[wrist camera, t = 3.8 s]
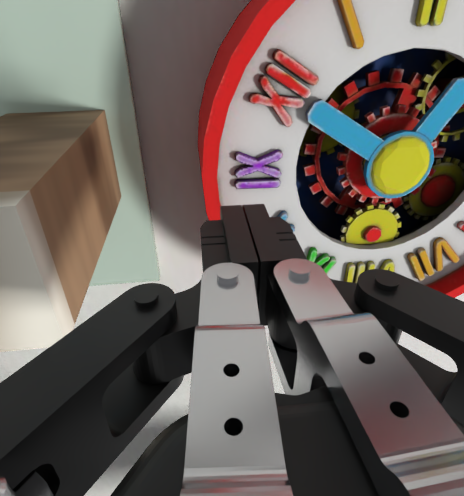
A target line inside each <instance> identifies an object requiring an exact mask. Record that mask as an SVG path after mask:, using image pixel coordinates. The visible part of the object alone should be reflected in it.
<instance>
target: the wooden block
mask: <svg viewBox="0 0 464 496" xmlns="http://www.w3.org/2000/svg"><path fill="white" fill-rule="evenodd" d="M120 199H121V192H120V186H119V181H118V176H117V171H116V166H115V160H114V155H113V150H112V145H111V140H110V135H109V129H108V124H107V119H106V114H105V110H87V111H61V112H35V113H9V114H5V115H3V116H1V117H0V352H6V351H17V350H28V349H39V348H49V347H51V346H52V345H53V344H55V343H56V342H57V341H59V340H60V339H62V338H63V337H64V336H66V335H67V334H68V333H70V332H71V331H72V330H73V328H74V325H75V322H76V319H77V317H78V314H79V311H80V308H81V306H82V303H83V300H84V297H85V295H86V292H87V289H88V287H89V284H90V281H91V278H92V276H93V273H94V270H95V267H96V265H97V262H98V259H99V257H100V254H101V251H102V248H103V246H104V243H105V240H106V237H107V235H108V232H109V229H110V227H111V224H112V221H113V218H114V216H115V213H116V210H117V207H118V205H119V202H120Z"/></svg>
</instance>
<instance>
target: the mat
mask: <svg viewBox="0 0 464 496" xmlns="http://www.w3.org/2000/svg"><path fill="white" fill-rule="evenodd" d="M87 110H105V114H106V119H107V124H108V129H109V135H110V140H111V145H112V150H113V155H114V160H115V166H116V171H117V176H118V181H119V186H120V192H121V199H120V202H119V205H118V207H117V210H116V213H115V216H114V218H113V221H112V224H111V227H110V229H109V232H108V235H107V237H106V240H105V243H104V246H103V248H102V251H101V254H100V257H99V259H98V262H97V265H96V267H95V270H94V273H93V276H92V278H91V281H90V284H89V286H96V285H108V284H121V283H134V282H146V281H159V280H160V273H159V266H158V260H157V253H156V246H155V240H154V233H153V226H152V220H151V213H150V207H149V200H148V193H147V187H146V180H145V173H144V167H143V160H142V153H141V147H140V140H139V134H138V127H137V120H136V114H135V107H134V100H133V94H132V87H131V80H130V74H129V67H128V61H127V54H126V47H125V41H124V34H123V27H122V21H121V14H120V8H119V1H118V0H0V117H1V116H3V115H5V114H9V113H35V112H61V111H87Z"/></svg>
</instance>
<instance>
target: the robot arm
mask: <svg viewBox="0 0 464 496" xmlns="http://www.w3.org/2000/svg"><path fill="white" fill-rule="evenodd" d="M201 246H202V264H203V274H202V278H201V280H200V282H199V283H198V284H197V285H195V286H194V287H192V288H190V289H188V290H186V291H183V292H180V293H176V294H174V292H173V291H172V289H170V288H169V287H167V286H165V285H162V284H156V283H148V284H142V285H138V286H135V287H133V288H131V289H129V290H128V291H126V292H125V293H123V294H122V295H121V296H119V297H118V298H116V299H115V300H114V301H112V302H111V303H110V304H108V305H107V306H105V307H104V308H103V309H101V310H100V311H99V312H97V313H96V314H94V315H93V316H92V317H90V318H89V319H88V320H86V321H85V322H84V323H82V324H81V325H79V326H78V327H77V328H75V329H74V330H73V331H71V332H70V333H68V334H67V335H66V336H64V337H63V338H62V339H60V340H59V341H57V342H56V343H55V344H53V345H52V346H51V347H49V348H48V349H46V350H45V351H44V352H42V353H41V354H40V355H38V356H37V357H35V358H34V359H33V360H31V361H30V362H29V363H27V364H26V365H24V366H23V367H22V368H20V369H19V370H18V371H16V372H15V373H14V374H12V375H11V376H9V377H8V378H7V379H5V380H4V381H3V382H1V383H0V496H84V495H85V493H86V492H87V491H88V490H89V489H90V488H91V487H92V485H93V484H94V483H95V482H96V481H97V480H98V479H99V477H100V476H101V475H102V474H103V473H104V472H105V471H106V469H107V468H108V467H109V466H110V465H111V464H112V462H113V461H114V460H115V459H116V458H117V457H118V456H119V454H120V453H121V452H122V451H123V450H124V449H125V448H126V446H127V445H128V444H129V443H130V442H131V441H132V440H133V438H134V437H135V436H136V435H137V434H138V433H139V432H140V430H141V429H142V428H143V427H144V426H145V425H146V423H147V422H148V421H149V420H150V419H151V418H152V417H153V415H154V414H155V413H156V412H157V411H158V410H159V409H160V407H161V406H162V405H163V404H164V403H165V402H166V401H167V399H168V398H169V397H170V396H171V395H172V394H173V393H174V391H175V390H176V389H177V388H178V387H179V385H180V384H181V382H182V380H183V377H184V375H186V374H188V373H191V372H192V375H191V388H190V400H189V413H188V414H187V415H185V416H183V417H181V418H180V419H178V420H177V421H175V422H174V423H172V424H171V425H170V426H169V427H167V428H166V429H165V430H164V431H162V432H161V433H160V434H159V435H158V436H157V437H156V438H155V439H154V440H153V441H152V443H151V444H150V445H149V446H148V447H147V449H146V450H145V451H144V453H143V454H142V455H141V457H140V458H139V459H138V460H137V462H136V463H135V464H134V466H133V467H132V468H131V470H130V471H129V472H128V473H127V475H126V476H125V477H124V479H123V480H122V481H121V483H120V484H119V485H118V486H117V488H116V489H115V490H114V492H113V493H112V494H111V496H464V302H462V301H460V300H458V299H455V298H453V297H451V296H449V295H446V294H444V293H442V292H439V291H437V290H435V289H432V288H430V287H428V286H425V285H423V284H421V283H419V282H416V281H414V280H412V279H409V278H407V277H405V276H402V275H400V274H398V273H395V272H392V271H389V270H383V269H371V270H367V271H364V272H362V273H361V274H360V275H359V277H358V280H357V283H352V282H345V281H338V280H333V279H330V278H329V277H328V275H327V274H326V273H325V271H324V270H323V268H322V267H320V266H319V265H318V264H316V263H314V262H312V261H309V260H307V258H306V256H305V254H304V252H303V250H302V248H301V246H300V244H299V242H298V240H297V238H296V236H295V234H294V233H293V230H292V228H291V226H290V224H289V223H288V222H286V221H285V220H283V219H282V218H281V217H269V214H268V212H267V210H266V207H265V205H264V204H248V205H229V206H220V220H209V221H206V222H205V223H204V224H203V226H202V227H201ZM265 325H268V328H269V342H268V344H269V349H270V352H271V355H272V357H273V360H274V363H275V366H276V369H277V372H278V375H279V377H280V380H281V383H282V386H283V389H284V392H285V394H279V393H274V386H273V379H272V373H271V366H270V359H269V353H268V346H267V339H266V333H265V327H264V326H265ZM402 331H404V332H406V333H408V334H410V335H411V336H413V337H415V338H417V339H419V340H421V341H423V342H425V343H427V344H429V345H430V346H432V347H434V348H436V349H438V350H440V351H442V352H444V353H445V354H447V355H448V356H450V357H451V358H452V359H453V360H454V361H455V363H456V365H457V369H458V372H449V371H446V370H444V369H442V368H440V367H438V366H437V365H435V364H433V363H431V362H429V361H428V360H426V359H424V358H422V357H420V356H419V355H417V354H415V353H413V352H411V351H410V350H408V349H406V348H404V347H402V346H401V345H399V344H398V341H399V338H400V335H401V333H402Z"/></svg>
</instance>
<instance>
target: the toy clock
mask: <svg viewBox="0 0 464 496" xmlns="http://www.w3.org/2000/svg"><path fill="white" fill-rule="evenodd" d="M198 151H199V159H200V167H201V175H202V182H203V190H204V198H205V206H206V213H207V216H208V219H209V220H220V206H229V205H248V204H264V205H265V207H266V210H267V212H268V214H269V217H281V218H282V219H283V220H285V221H286V222H288V223H289V224H290V226H291V228H292V230H293V233H294V234H295V236H296V238H297V240H298V242H299V244H300V246H301V248H302V250H303V252H304V254H305V256H306V258H307V260H309V261H312V262H314V263H316V264H318V265H319V266H320V267H322V268H323V270H324V271H325V273H326V274H327V275H328V277H329V278H330V279H333V280H338V281H345V282H352V283H357V280H358V277H359V275H360V274H361V273H362V272H364V271H367V270H371V269H383V270H389V271H392V272H395V273H398V274H400V275H402V276H405V277H407V278H409V279H412V280H414V281H416V282H419V283H421V284H423V285H425V286H428V287H430V288H432V289H435V290H437V291H439V292H442V293H444V294H446V295H449V296H451V297H453V298H455V297H457V296H459V295H461V294H463V293H464V0H251V1H250V2H249V4H248V5H247V6H246V7H245V8H244V9H243V11H242V12H241V13H240V14H239V15H238V17H237V19H236V20H235V22H234V24H233V25H232V27H231V29H230V30H229V32H228V34H227V35H226V37H225V39H224V40H223V42H222V44H221V45H220V47H219V49H218V52H217V54H216V57H215V60H214V62H213V65H212V67H211V70H210V72H209V75H208V77H207V80H206V83H205V88H204V93H203V97H202V102H201V107H200V111H199V125H198Z"/></svg>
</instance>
